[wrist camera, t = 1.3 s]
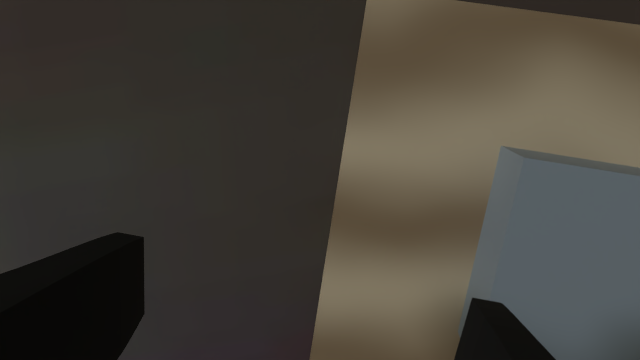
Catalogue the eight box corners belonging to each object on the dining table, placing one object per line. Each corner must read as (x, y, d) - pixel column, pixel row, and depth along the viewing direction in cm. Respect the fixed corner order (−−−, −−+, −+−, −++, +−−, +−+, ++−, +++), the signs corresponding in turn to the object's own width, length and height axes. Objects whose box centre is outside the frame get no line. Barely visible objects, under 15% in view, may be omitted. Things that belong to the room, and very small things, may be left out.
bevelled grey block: (604, 359, 20) (644, 408, 17) (457, 331, 20) (471, 373, 17) (663, 171, 18) (718, 188, 15) (500, 145, 18) (524, 157, 15)
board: (795, 490, 21) (820, 514, 20) (306, 387, 23) (302, 403, 22) (977, 76, 17) (1021, 75, 16) (369, -6, 19) (368, -12, 18)
